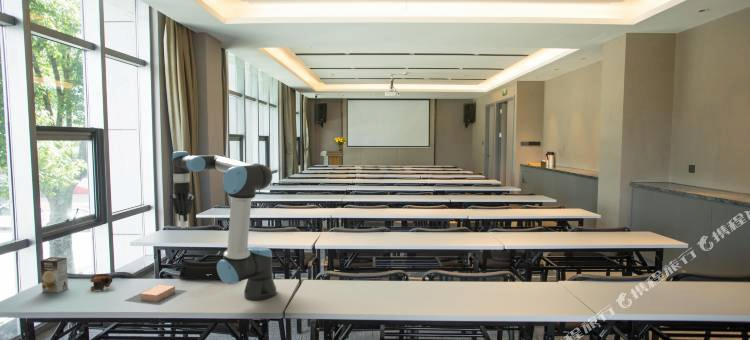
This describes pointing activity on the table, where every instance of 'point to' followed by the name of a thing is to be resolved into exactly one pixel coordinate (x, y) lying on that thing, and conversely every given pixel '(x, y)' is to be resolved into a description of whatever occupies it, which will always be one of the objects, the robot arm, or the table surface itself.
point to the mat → (138, 300)
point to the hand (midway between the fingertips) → (183, 227)
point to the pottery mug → (100, 281)
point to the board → (157, 293)
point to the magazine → (199, 270)
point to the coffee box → (54, 274)
